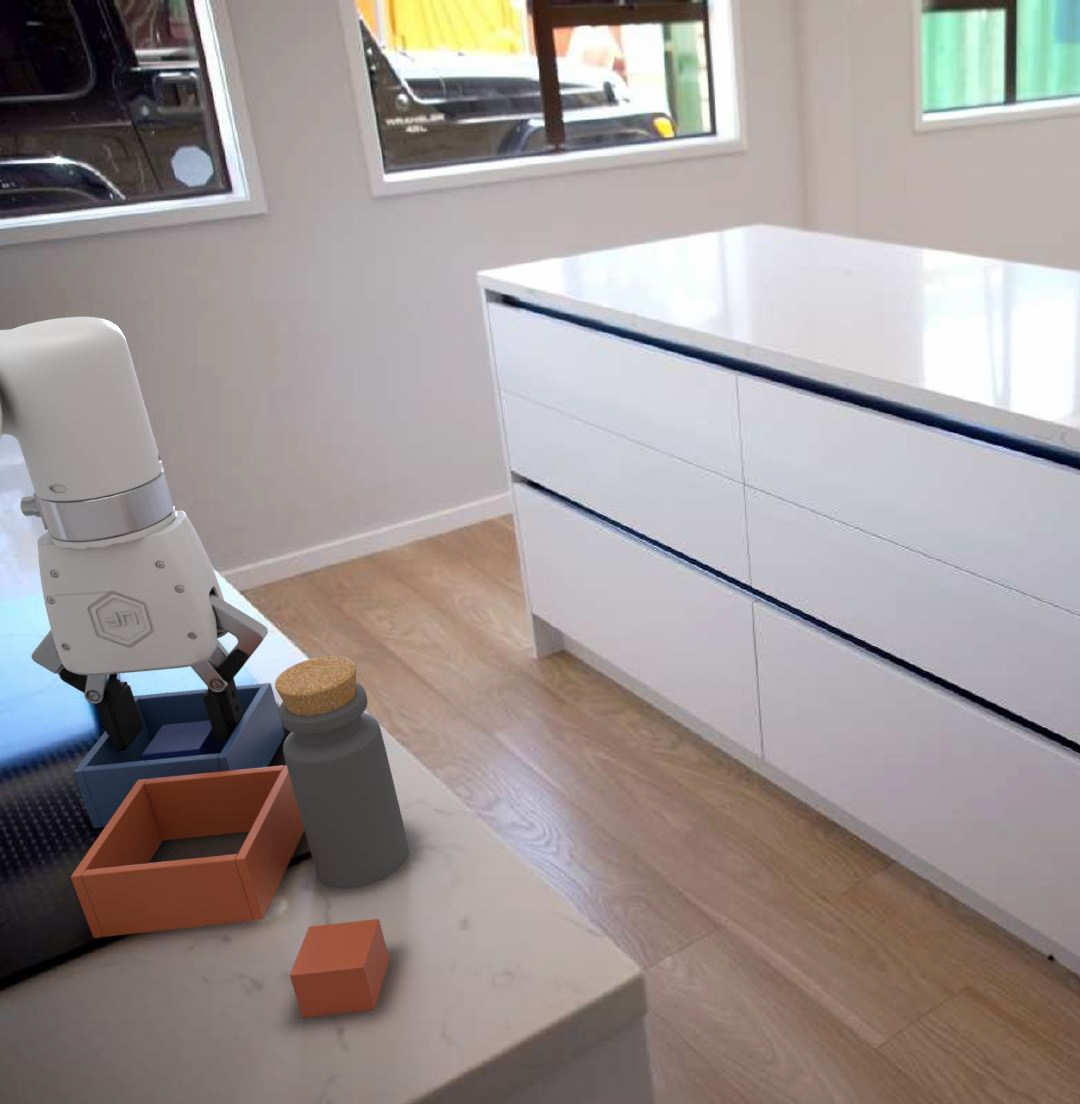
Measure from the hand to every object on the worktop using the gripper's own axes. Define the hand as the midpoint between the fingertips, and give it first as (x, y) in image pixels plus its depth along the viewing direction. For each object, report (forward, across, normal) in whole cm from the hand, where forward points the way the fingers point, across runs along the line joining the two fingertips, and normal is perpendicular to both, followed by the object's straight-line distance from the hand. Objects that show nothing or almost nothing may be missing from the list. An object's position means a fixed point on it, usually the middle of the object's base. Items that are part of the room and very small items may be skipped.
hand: (179, 734), depth 91 cm
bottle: (+5, +15, -12) cm, 20 cm away
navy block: (+4, 0, 0) cm, 4 cm away
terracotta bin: (+5, +5, -12) cm, 14 cm away
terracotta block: (+5, +17, -24) cm, 30 cm away
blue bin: (+5, 0, 0) cm, 5 cm away
